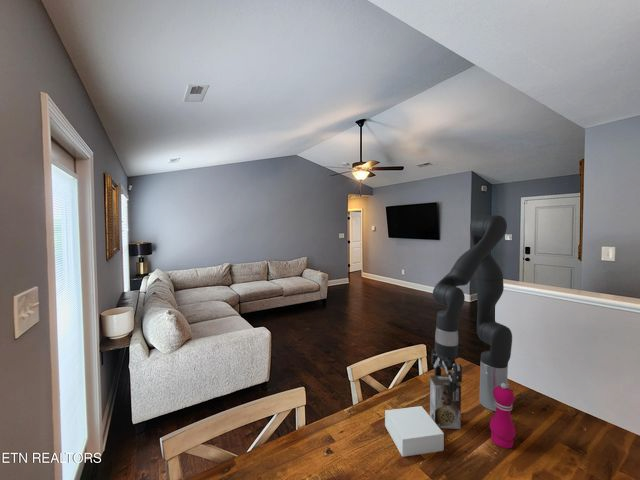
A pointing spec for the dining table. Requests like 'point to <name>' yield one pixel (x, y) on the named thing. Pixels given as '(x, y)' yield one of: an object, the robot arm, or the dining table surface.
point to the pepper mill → (502, 417)
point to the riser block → (414, 431)
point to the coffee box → (445, 403)
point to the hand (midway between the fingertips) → (444, 384)
